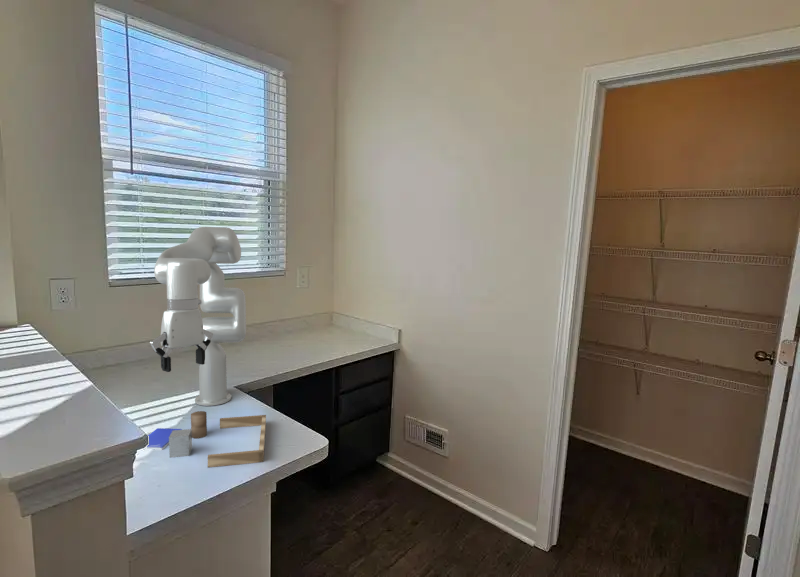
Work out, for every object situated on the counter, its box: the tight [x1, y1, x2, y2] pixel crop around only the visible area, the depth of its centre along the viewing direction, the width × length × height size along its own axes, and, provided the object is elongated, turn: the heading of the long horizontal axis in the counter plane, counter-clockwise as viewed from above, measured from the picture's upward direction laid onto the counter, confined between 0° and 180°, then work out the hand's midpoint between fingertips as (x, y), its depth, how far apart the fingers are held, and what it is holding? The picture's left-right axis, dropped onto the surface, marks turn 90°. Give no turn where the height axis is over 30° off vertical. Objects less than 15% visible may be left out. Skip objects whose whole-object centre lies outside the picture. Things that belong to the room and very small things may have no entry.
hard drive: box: [142, 427, 183, 451], centre depth 135 cm, size 2×8×12 cm
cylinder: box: [190, 410, 208, 440], centre depth 138 cm, size 4×4×7 cm
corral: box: [207, 414, 267, 468], centre depth 134 cm, size 26×14×3 cm, turn 15°
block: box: [168, 428, 193, 459], centre depth 127 cm, size 4×5×6 cm
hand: (183, 367), depth 122 cm, fingers open, 9 cm apart
